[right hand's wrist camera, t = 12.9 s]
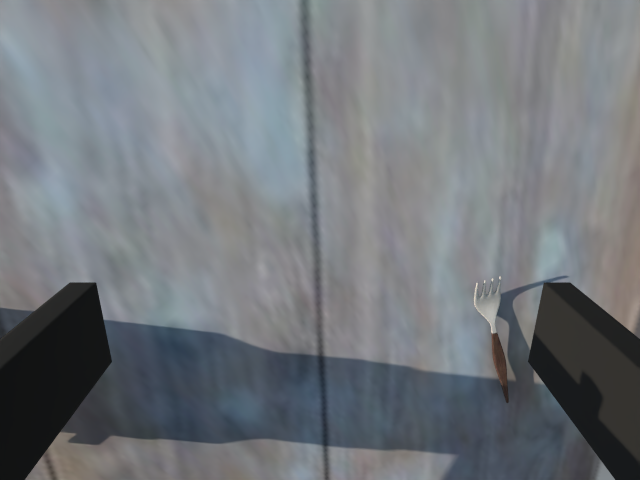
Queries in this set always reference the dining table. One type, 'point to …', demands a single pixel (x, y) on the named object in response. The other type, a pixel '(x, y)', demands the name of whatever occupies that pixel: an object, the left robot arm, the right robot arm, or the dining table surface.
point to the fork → (493, 328)
